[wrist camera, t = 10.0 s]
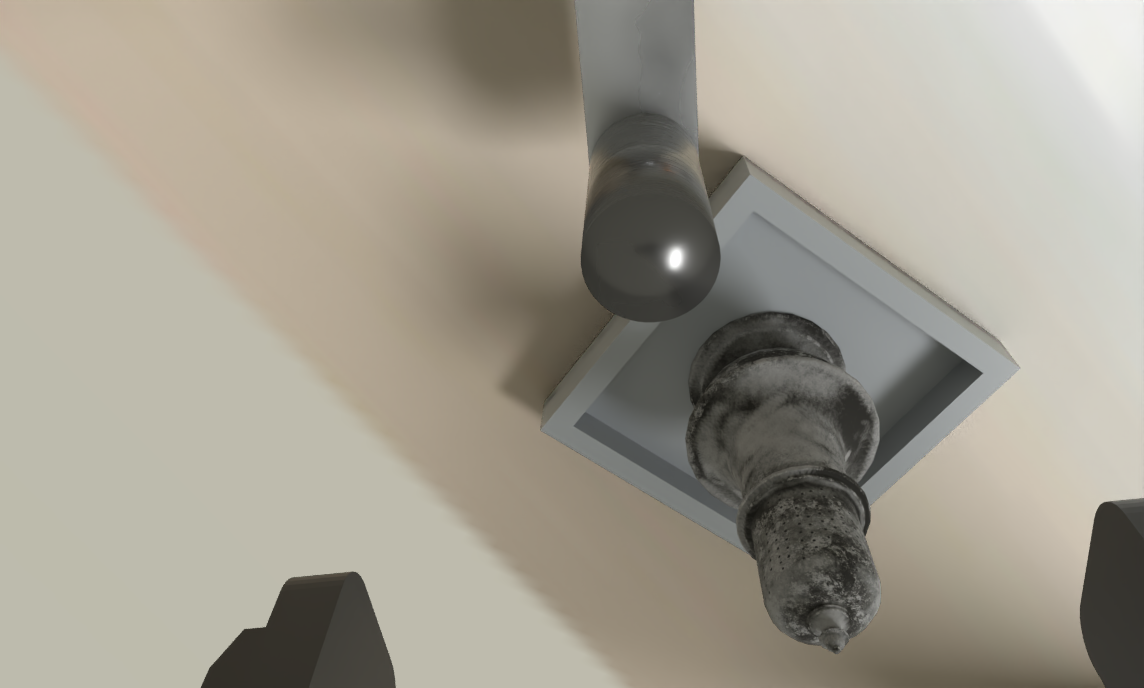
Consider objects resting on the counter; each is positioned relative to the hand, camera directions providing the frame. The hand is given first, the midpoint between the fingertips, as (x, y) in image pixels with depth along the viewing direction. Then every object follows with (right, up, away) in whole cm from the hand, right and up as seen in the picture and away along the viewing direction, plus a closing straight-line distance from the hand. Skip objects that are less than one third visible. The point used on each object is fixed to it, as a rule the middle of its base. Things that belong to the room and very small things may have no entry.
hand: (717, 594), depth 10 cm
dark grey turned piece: (+5, +2, +21) cm, 22 cm away
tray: (+5, +2, +22) cm, 22 cm away
